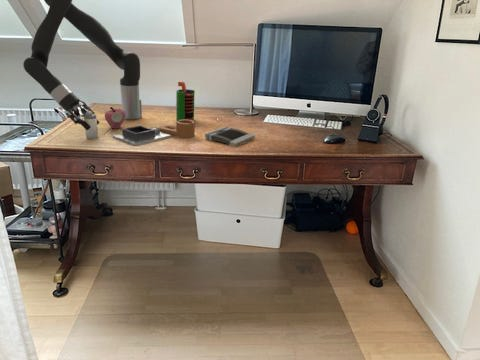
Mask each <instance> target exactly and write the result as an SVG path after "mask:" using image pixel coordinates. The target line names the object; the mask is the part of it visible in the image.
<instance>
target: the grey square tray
mask: <svg viewBox="0 0 480 360" xmlns="http://www.w3.org/2000/svg"><path fill="white" fill-rule="evenodd" d="M204 137H205V140H206V141H216V142H220V143H224V144H227V145H229V146H230V145H231V146H230V147H234V146H235V147H236V145H237V146H240V144H241V145H243V144H245V143H248V142H250V141H252V140H253V139H255V135H254V134H253V133H248V132H246V131H244V130H241V129H238V128H233V127H229V126H228V125H226V126H223V127H220V128H216V129H213V130H212V131H208V132H206V133H204ZM249 140H250V141H249ZM247 141H248V142H247ZM244 142H245V143H244ZM242 143H243V144H242Z"/></svg>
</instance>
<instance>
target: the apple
mask: <svg viewBox="0 0 480 360" xmlns="http://www.w3.org/2000/svg"><path fill="white" fill-rule="evenodd" d="M109 109H110V110H108V111H107V110H106V111H105V112H104V119H105V121H106V122H107V124H108V125H109V127H110V128H111V129H119V128H121V127H122V125H123V123H124V122H125V120H126V119H125V116H126V114H125V111H123V110H122V108H121V109H119V108H118V109H117V108H116V109H114V108H113V106H110V107H109Z"/></svg>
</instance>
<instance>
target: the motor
mask: <svg viewBox="0 0 480 360" xmlns="http://www.w3.org/2000/svg"><path fill="white" fill-rule="evenodd" d="M177 86H178V87H181V88H180V89H177V90H176V91H175V92H176V94H175V95H176V97H175V98H176V104H175V105H176V106H175V107H176V113H175V114H176V120H175V121H178V120H184V119H186V120H193V121H194V120H195V89H187V85H186V83H185V82H184V81H178V82H177Z"/></svg>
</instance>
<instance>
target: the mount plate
mask: <svg viewBox="0 0 480 360" xmlns="http://www.w3.org/2000/svg"><path fill="white" fill-rule="evenodd" d="M172 137H173V136H172V135H170V134H167V133H164V132H161V131H160V128H159V127H158V126H151V127H147V126H144V125H135V126H130V127H125V128H122V129H121V133H118V134H113V135H112V138H113V139H116V140H118V141H121V142H123V143H126V144H128V145H131V146H134V147H135V146H140V145H144V144H149V143H153V142H157V141H158V142H159V141H162V140H167V139H170V138H172Z"/></svg>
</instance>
